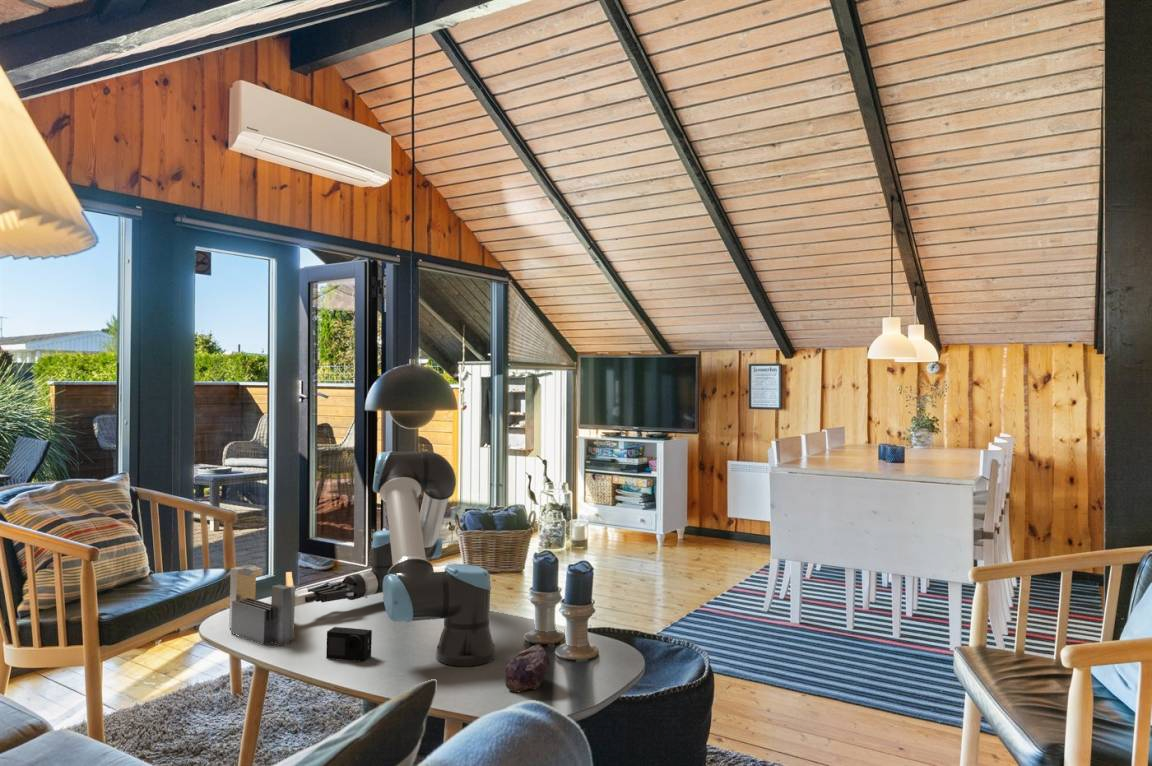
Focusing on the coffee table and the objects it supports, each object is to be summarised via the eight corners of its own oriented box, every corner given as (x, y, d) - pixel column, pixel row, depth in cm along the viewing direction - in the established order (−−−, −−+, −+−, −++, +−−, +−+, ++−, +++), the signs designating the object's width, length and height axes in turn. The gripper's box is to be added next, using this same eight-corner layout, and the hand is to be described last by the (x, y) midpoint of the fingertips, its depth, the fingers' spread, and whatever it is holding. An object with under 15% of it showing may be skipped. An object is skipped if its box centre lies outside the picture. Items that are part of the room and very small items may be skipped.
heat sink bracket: (300, 640, 214) (302, 577, 214) (273, 648, 207) (275, 583, 207) (248, 623, 228) (250, 564, 228) (221, 630, 221) (223, 569, 221)
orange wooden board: (293, 639, 213) (295, 587, 213) (284, 640, 212) (285, 588, 212) (291, 619, 231) (293, 571, 231) (282, 620, 230) (284, 572, 230)
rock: (499, 694, 183) (536, 703, 178) (496, 659, 182) (533, 666, 177) (527, 671, 193) (563, 679, 188) (524, 638, 192) (560, 644, 187)
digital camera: (323, 660, 199) (323, 632, 199) (333, 653, 205) (334, 626, 205) (361, 663, 197) (362, 635, 197) (371, 656, 203) (371, 629, 203)
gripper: (372, 601, 243) (307, 618, 224) (345, 594, 251) (279, 609, 231) (373, 577, 243) (308, 591, 224) (345, 570, 251) (280, 584, 231)
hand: (293, 601), depth 228 cm, fingers closed
